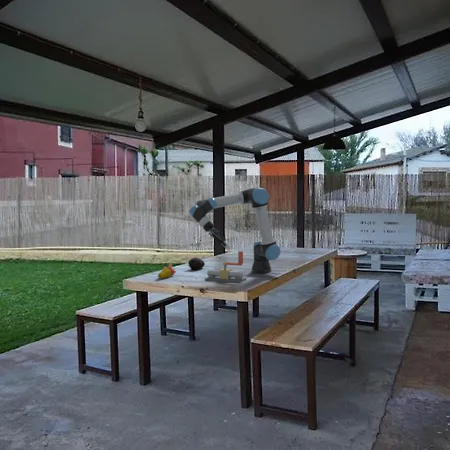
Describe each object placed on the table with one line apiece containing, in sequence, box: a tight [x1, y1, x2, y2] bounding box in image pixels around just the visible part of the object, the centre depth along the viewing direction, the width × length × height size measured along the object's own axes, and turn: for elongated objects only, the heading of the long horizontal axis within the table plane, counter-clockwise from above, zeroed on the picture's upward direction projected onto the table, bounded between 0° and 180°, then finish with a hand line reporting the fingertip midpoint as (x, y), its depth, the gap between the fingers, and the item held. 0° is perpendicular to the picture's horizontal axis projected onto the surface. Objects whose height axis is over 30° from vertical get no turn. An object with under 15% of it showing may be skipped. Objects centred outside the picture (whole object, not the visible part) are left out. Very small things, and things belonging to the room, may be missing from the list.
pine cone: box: [188, 257, 206, 272], centre depth 391 cm, size 10×18×10 cm, turn 163°
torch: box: [157, 262, 177, 279], centre depth 353 cm, size 8×8×25 cm
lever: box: [222, 250, 244, 266], centre depth 333 cm, size 15×3×9 cm, turn 62°
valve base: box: [204, 265, 247, 284], centre depth 336 cm, size 12×26×11 cm, turn 66°
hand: (229, 249), depth 329 cm, fingers closed
